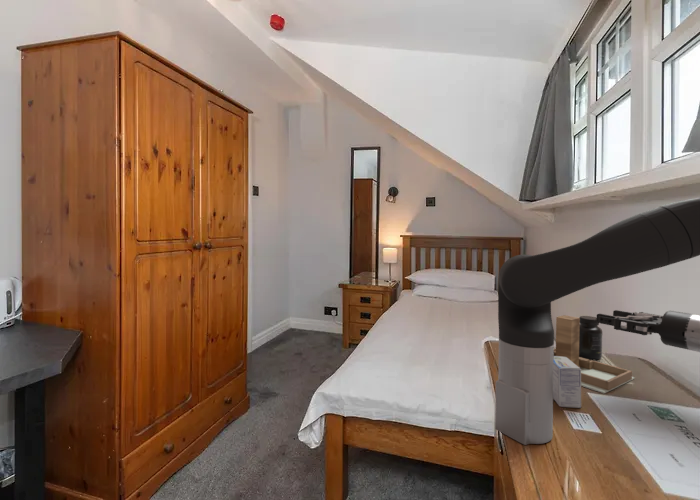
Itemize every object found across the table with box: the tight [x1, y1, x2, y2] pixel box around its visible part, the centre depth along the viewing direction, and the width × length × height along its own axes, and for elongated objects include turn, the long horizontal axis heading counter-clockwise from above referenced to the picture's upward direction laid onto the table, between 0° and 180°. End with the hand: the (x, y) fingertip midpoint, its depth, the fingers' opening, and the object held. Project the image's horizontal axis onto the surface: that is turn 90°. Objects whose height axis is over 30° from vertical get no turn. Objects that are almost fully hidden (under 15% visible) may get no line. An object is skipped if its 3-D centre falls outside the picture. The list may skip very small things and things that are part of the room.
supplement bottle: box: [579, 315, 603, 361], centre depth 105 cm, size 7×7×12 cm
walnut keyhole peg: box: [555, 314, 580, 368], centre depth 95 cm, size 6×6×14 cm
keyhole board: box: [554, 348, 636, 395], centre depth 93 cm, size 16×19×3 cm
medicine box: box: [553, 356, 582, 409], centre depth 78 cm, size 8×4×9 cm, turn 168°
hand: (605, 315), depth 86 cm, fingers open, 8 cm apart
